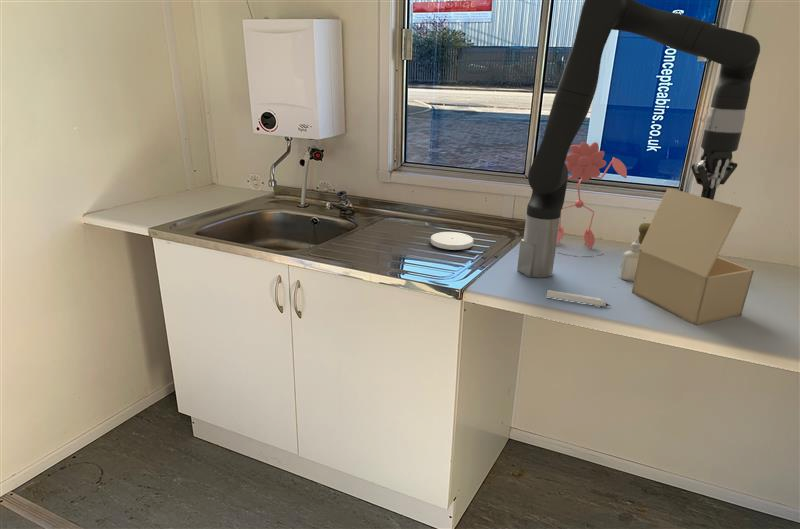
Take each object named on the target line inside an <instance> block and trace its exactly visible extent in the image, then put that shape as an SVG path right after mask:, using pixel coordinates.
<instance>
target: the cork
mask: <svg viewBox="0 0 800 529" xmlns="http://www.w3.org/2000/svg"><path fill="white" fill-rule="evenodd" d="M650 224H651V222H650V223H649V222H648V223H647V222H642V223H641V224H640V225H639V227H638V232H639V234H638V238H637V239H639V243H640V244H642V241H643V239H644V237H645V235H646V233H647V231H648V229H649V226H650ZM640 251H642V250H640Z"/></svg>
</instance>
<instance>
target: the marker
mask: <svg viewBox="0 0 800 529" xmlns="http://www.w3.org/2000/svg"><path fill="white" fill-rule="evenodd" d="M546 291H547V292H546V296H545V298H546V297H550V298H556V299H562V300H568V301H574V302H580V303H586V304H592V305H597V306H604V307H612V304H609V303H608V302H605V301H604V300H603V299H601V297H600V298H599V297H593V296H587V295H581V294H576V293H568V292H562V291H557V290H550V289H548V290H546Z"/></svg>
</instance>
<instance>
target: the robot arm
mask: <svg viewBox="0 0 800 529" xmlns="http://www.w3.org/2000/svg"><path fill="white" fill-rule="evenodd" d="M612 30H614V31H619V32H620V31H621V32H627V33H630V34H634V35H639V36H641V37H644V38H647V39H649V40H651V41H654V42H656V43H659V44H661V45H664V46H666V47H668V48H671V49H672V50H676V51H679V52H683V53H685V54H688V55H691V56H695V57H702V58H703V59H707V60H708V61H712V62H714V63H716V64H719V65H720V68H719V69H720V70H719V75H718V79H717V80H718V81H717V83H716V86H715V87H714V91H713V95H712V100H711V105H710V108H709V112H708V115H707V118H706V121H705V125H704V130H703V133H702V134H703V136H702V139H701V140H702V141H701V143H700V147H701V149H702V150H703V153H702V155H701V157H700V161H699V162H698V163H697V164H696V163H693V164H692V165H691V170H692V173H693V176H694V178H695V181H696V184H697V185H700V186H702V190H701V194H700V195H701V196H700V197H704V198H708V199H711V200H715V196H716V192H717V188H719V186H720V185H723V186H724V184H726V182H727V180H728V179H729V178H730V177H731V176H732V174H733V173H734V172H735V170H736V169H737V167H738V163H737V162H734V161H733V160H732V159H733V152H736V151H737V150H738V149H739V146H740V145H739V144H740V142H741V136H742V133H743V132H742V131H743V129H744V128H743V127H744V124H745V119H746V110H747V107H748V103H749V98H750V92H751V84H752V79H753V77H754V74H755V73H754V72H755V70H756V65H757V64H758V58H759V55H760V53H761V45H760V42H759V40H758V39H757V38H756V37H755V36H753V35H751V34H747V33H745V32H739V31H736V30H732V29H728V28H724V27H720V26H717V25H715V24H713V23H711V22H709V21H705V20H701V19H698V18H696V17H692V16H688V15H685V14H681V13H676V12H670V11H666V10H661V9H659V8H654V7H651V6H648V5H646V4H643V3H640V2H638V1H636V0H584V1H583V4H582V6H581V11H580V15H579V19H578V25H577V29H576V32H575V37H574V42H573V45H572V47H571V50H570V53H569V55H568V58H567V60H566V62H565V66H564V68H563V72H562V73H561V74H562V75H561V78H560V80H559V83H558V86H557V90H556V92H555V94H554V97H553V100H552V101H553V102H552V105H551V108H550V112H549V116H548V118H547V122H546V126H545V129H544V134H543V136H542V141H541V143H540V145H539V147H538V150H537V152H536V154H535V157H534V159H533V161H532V164H531V166H530V168H529V170H528V176H527V180H528V184H529V187H530V188H531V189H532V191H531V195H530V199H529V202H528V204H527V208H526V215H525V216H526V217H525V224H524V231H523V232H524V234H523V238H521V239H520V242H519V251H518V260H517V267H516V269H517V271H518V272H519V273H522V274H523V275H525V276H526V277H528V278H540V279H541V278H548V277H551V276H552V275H553V271H554V262H555V256H556V249H557V244H558V243H557V236H558V229H559V222H560V215H561V216H562V210H563V209H562V208H563V207H564V204H565V197H566V192H567V186H568V179H569V178H568V177H569V171H568V169H567V166H566V161H565V160H566V157H567V155H568V154H569V150H570V147H571V146H572V143H573V141H574V139H575V138H576V136H577V134H578V133H579V131H580V129H581V127H582V125H583V123H584V121H585V120H586V118H587V116H588V113H589V112H590V108H591V106H592V103H593V101H594V98H595V97H594V96H595V94H596V91H597V89H598V88H597V87H598V83H599V78H600V70H601V63H602V56H603V52H604V49H605V46H606V45H607V44H606V43H607V41H608V39H609V36H610V34H611V31H612Z"/></svg>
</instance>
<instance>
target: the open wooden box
mask: <svg viewBox="0 0 800 529" xmlns="http://www.w3.org/2000/svg"><path fill="white" fill-rule="evenodd" d="M754 272H755V270H754V269H752V268H749V267H746V266H743V265H741V264H738V263H735V262H733V261H729V260H727V259H725V258H722V257H719V256H717V258H716V260H715V262H714V264H713V266H712V268H711V270H710V272H709V274H708V276H707V277H705V276H702V275H700V274H697V273H695V272H693V271H690V270H688V269H685V268H683V267H680V266H678V265H676V264H673V263H671V262H668V261H666V260H664V259H661V258H659V257H656V256H654V255H652V254H649V253H647V252H644V251H640V254H639V259H638V264H637V269H636V274H635V279H634V281H633V285H632V291H631V293H632V294H634V295H635V296H637V297H640V298H642V299H644V300H646V301H648V302H649V303H650V304H653V305H655V306H656V307H657V306H658V307H659V308H661V309H663V310H665V311H667V310H668V311H667V312H669V313H671V314H672V313H673V314H672V315H674V314H676V315H677V316H676V315H675V316H676V317H678V316H680V317H681V319H682V318H683V319H682V320H684V319H685V320H684V321H686V320H687V321H686V322H688V321H689V322H688V323H690V322H691V323H690V324H692V323H693V324H692V325H694V324H695V325H696V324H697V325H701V323H702V324H707V323H710V322H716V321H719V320H720V321H721V320H724V319H729V318H734V317H738V316H742V314H743V311H744V306H745V303H746V300H747V296H748V293H749V292H748V291H749V289H750V286H751V285H750V284H751V282H752V278H753V276H754ZM680 317H679V318H680ZM695 325H694V326H695Z"/></svg>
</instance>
